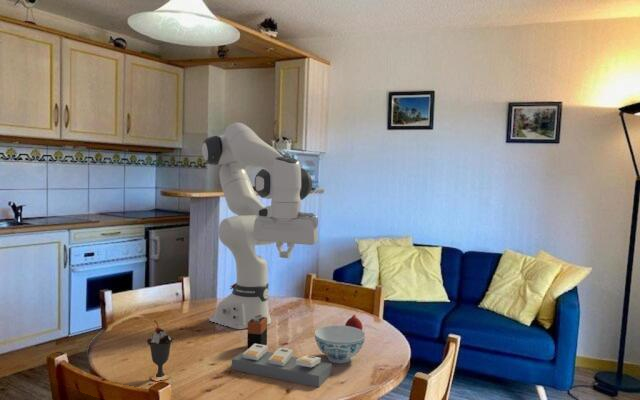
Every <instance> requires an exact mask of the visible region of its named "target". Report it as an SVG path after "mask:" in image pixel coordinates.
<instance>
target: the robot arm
mask: <svg viewBox="0 0 640 400" xmlns="http://www.w3.org/2000/svg"><path fill="white" fill-rule="evenodd" d="M201 146H202V147H201V153H202V157H203V159H204V161H205V162H206V163H207V164H209V165H213V166H217V165H222V166H220V168H219V169H220V170H219V181H220V186H221V190H222V193H223V196H224V198H225V202H226V205H227V207H228V209H229V210H230V211H231V212H232V213H233V214H235V215H234V216H230V217H226V218H223V219H222V220H221V222H220V223H219V225H218V228H217V235H218V239H219V241H220V242H221V244H223V245H224V246H225V247H226V248H228V249H229V251H230V252H231V254H232V256H233V257H234V258H233V259H234V261H235V264H236V265H235V266H236V267H235V268H236V283H234V284H233V285H229V287H230V288H229V289H230V290H232V292H231V293H230V294H229V295H227V296H226V297H224V298H223V299H222V300H221V301H219V303H218V304H217V306H216V310H215V311H216V312H215V314H213V315H211V316H210V317H209V321H212V322H215V323H214V324H216V323H218V324H217V325H220V324H221V325H220V326H223V325H224V327H227V326H228V327H229V328H232V329H235V330H243V329H248V322H249V321H250V320H251V319H252V318H254V317H255V316H257V315H262V317H267V326H268V325H270V324H271V323H272V319H271V316H270V309H269V292H270V291H269V289H270V287H269V283H268V269H269V267H268V263H267V260H266V259H265V258H264V257H262V256H260V255H258V254H257V253H256V248H255V246H262V245H263V246H265V245H272V244H275V247H276V248H277V250H278V252H279V253H278V255H279V256H278V257H279V258H282V259H283V258H284V259H290V258H291V252H292V251H293V249H294V248H295V245H306V246H313V245H316V244H317V243H318V242H319V231H318V225H319V218H318V216H317V215H315V214H314V213H312V212H301V211H302V210H301V209H302V207H301V206H302V202H301V201H303V200H304V199H305V198H306V197H308V196H309V194H310V193H311V191H312V189H313V178H312V177H311V175H310V173H309V172H308V170H306V169H305V168H301V164H300V161H299V160H298V159H296V158H295V157H288V156H285V154H283V153H282V152H281V151H280V150H277V149H276V148H275V147H273V146H271V145H270V144H268V143H267V142H265V141H264V140H263V139H261V138H260V137H259V135H257V133H256V132H255V131H254V130H253V129H251V127H249V126H247V125H246V124H245V123H242V122H233V123H230V124H229V125H228V126H227V127H226V129H225V130H224V133H223V134H222V135H212V136H210V137H207V138H205V140H203V142H202V145H201ZM247 167H251V168H261V169H260V170H259V171H258V172H257V173H256V175H255V177H254V187H253V184H252V182H251V180H250V177H249V175H248V172H247ZM257 195H258V196H259V197H261V198H263V199H267V200H270V204H271V205H269V206H265V205H264V204H263V203H262V202H261V201H260V199H259V198H258V196H257ZM284 243H285V244H286V247H287V250H286V251H285V250H284V248H283V246H284ZM212 322H211V323H212Z"/></svg>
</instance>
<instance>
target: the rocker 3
mask: <svg viewBox="0 0 640 400" xmlns="http://www.w3.org/2000/svg"><path fill="white" fill-rule="evenodd" d="M298 358H299V359H297V360H296V365H301V366H306V367H313V366H314V367H315V366H316V364H318V363H320V362H322V361H321V359H322V358H321V357H318V356H313V355H308V354H306V355H304V356H301V357H298Z"/></svg>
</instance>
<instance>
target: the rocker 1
mask: <svg viewBox="0 0 640 400" xmlns="http://www.w3.org/2000/svg"><path fill="white" fill-rule="evenodd" d="M246 350H247V349H246ZM246 350H245V351H246ZM243 352H244V351H243ZM266 352H269V345H268V344H267V345H261V344H253V345H252V346H251V347H250V348H249V349H248V350H247V351H246V352H244V353H243V358H247V359H252V360H258V359H259V358H260V357H262V356H263V354H265V353H266Z"/></svg>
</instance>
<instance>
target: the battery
mask: <svg viewBox="0 0 640 400" xmlns="http://www.w3.org/2000/svg"><path fill="white" fill-rule="evenodd" d="M246 338H247V342H246V343H247V347H246V350H247V349H249V348H250V347H251V346H252V345H253V344H261V345H267V346H268V325H267V317H262V315H257V316H255V317H254V318H252V319H251V320H250V321H249V322H248V328H247V337H246Z"/></svg>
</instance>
